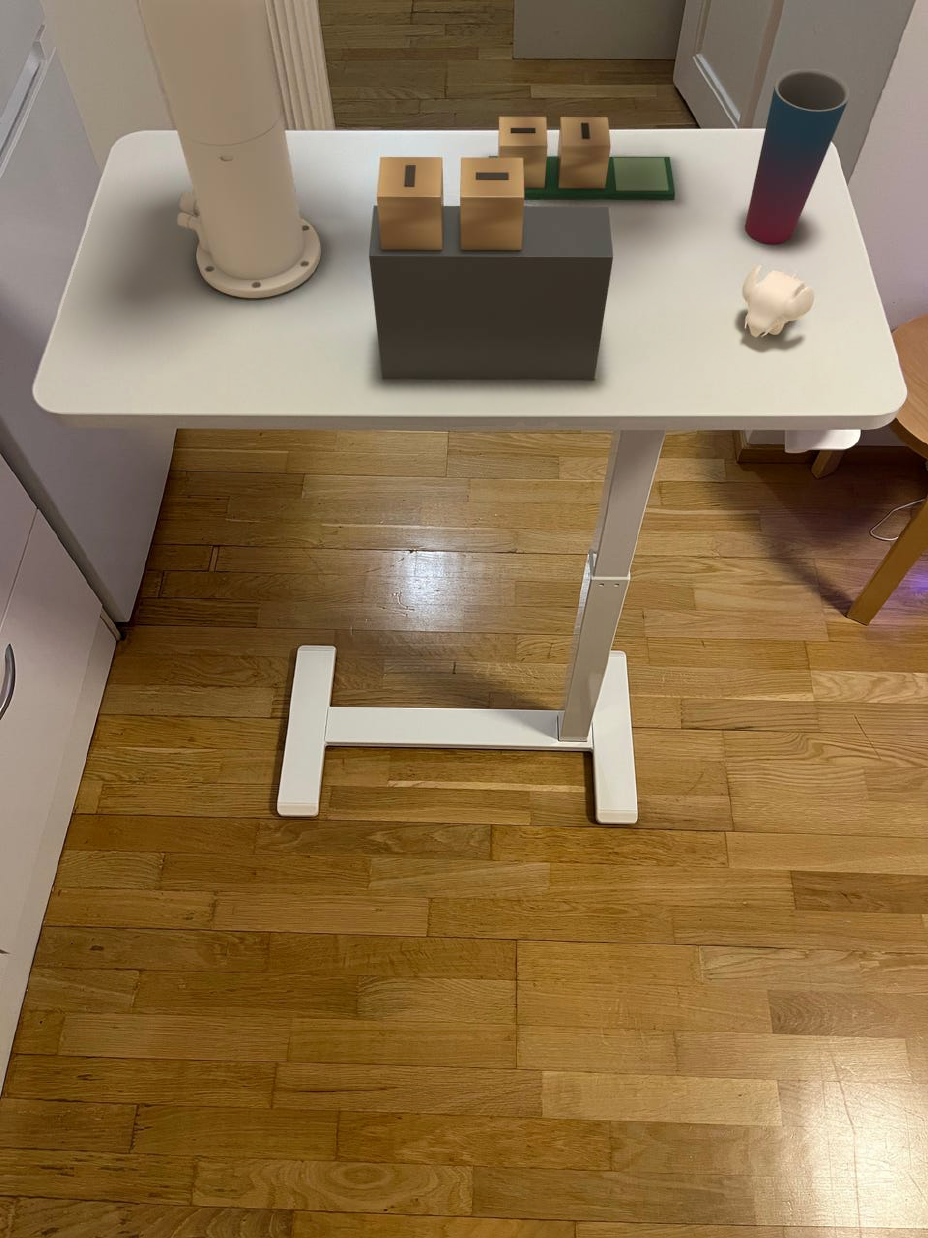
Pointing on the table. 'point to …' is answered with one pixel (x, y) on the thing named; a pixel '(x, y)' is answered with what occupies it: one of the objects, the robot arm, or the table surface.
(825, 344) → the table surface
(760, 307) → the elephant figurine
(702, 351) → the table surface
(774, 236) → the cup
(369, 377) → the table surface
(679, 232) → the table surface
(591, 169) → the green tile rack
